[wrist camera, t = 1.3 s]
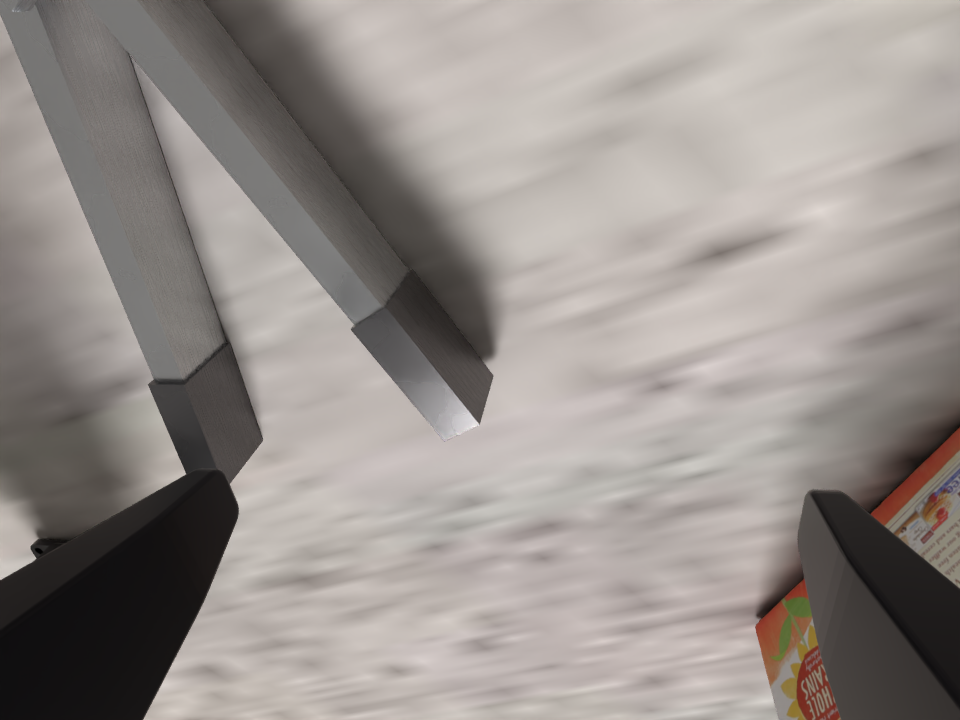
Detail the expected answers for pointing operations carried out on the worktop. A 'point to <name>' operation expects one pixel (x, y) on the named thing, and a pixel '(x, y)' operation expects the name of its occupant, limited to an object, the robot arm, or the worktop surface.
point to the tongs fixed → (137, 227)
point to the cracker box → (789, 625)
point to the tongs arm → (302, 202)
